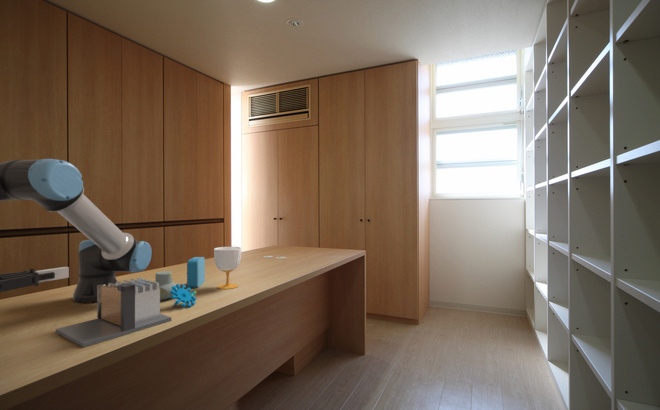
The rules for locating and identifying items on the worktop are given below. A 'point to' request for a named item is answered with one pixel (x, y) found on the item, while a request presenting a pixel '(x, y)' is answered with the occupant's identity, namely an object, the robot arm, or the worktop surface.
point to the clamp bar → (109, 304)
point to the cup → (227, 262)
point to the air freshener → (165, 284)
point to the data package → (195, 272)
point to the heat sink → (144, 299)
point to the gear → (183, 295)
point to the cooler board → (106, 330)
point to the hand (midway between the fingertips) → (67, 272)
